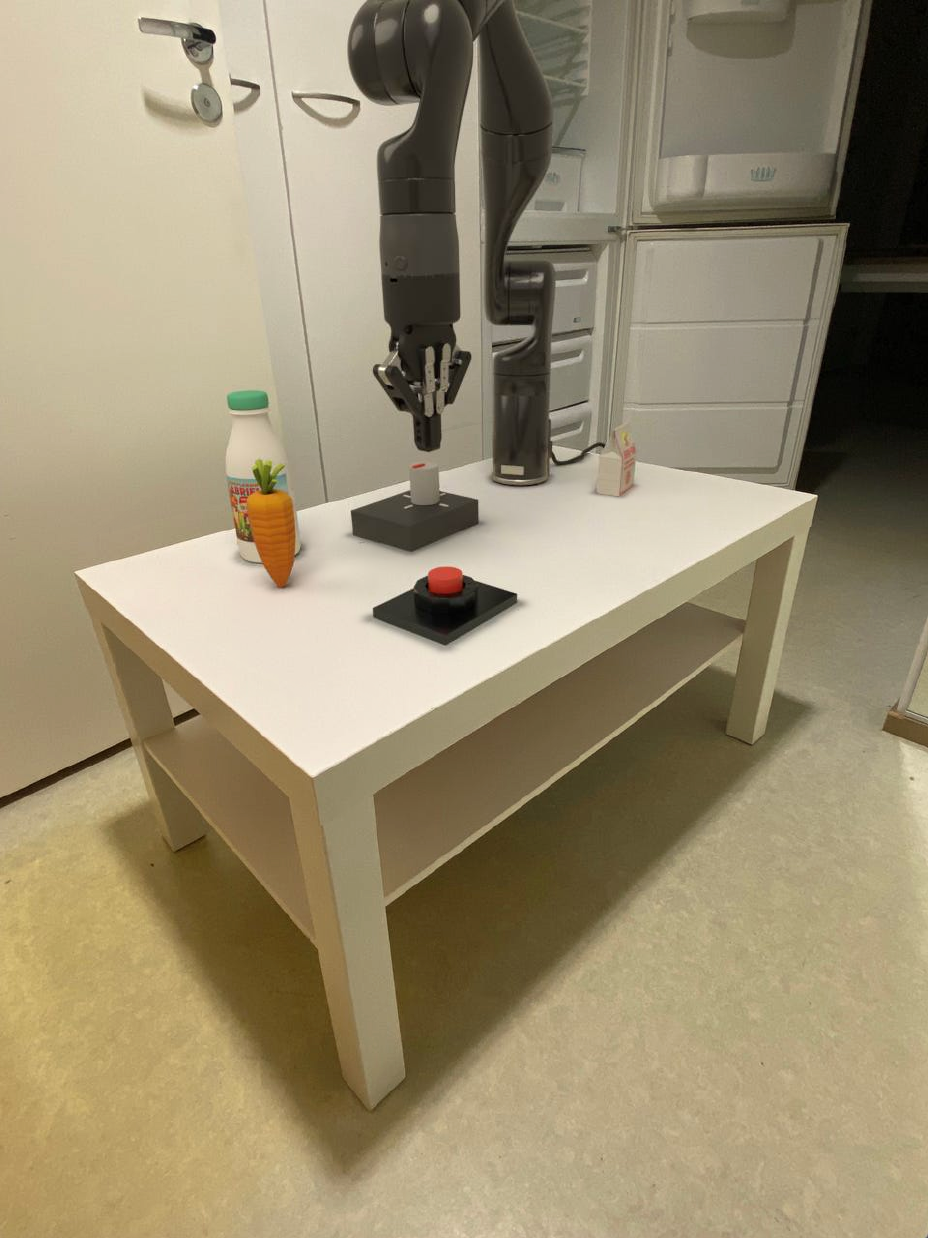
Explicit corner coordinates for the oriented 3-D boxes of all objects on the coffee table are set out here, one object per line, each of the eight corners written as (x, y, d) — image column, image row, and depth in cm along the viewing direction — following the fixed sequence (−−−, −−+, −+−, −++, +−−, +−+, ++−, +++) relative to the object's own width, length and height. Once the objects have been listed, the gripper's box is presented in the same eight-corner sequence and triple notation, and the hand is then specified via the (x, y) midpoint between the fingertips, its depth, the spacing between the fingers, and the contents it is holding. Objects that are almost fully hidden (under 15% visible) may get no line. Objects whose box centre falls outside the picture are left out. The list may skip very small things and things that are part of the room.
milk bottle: (250, 542, 94) (225, 387, 85) (307, 542, 94) (288, 386, 85) (231, 564, 87) (201, 398, 78) (293, 564, 87) (270, 397, 78)
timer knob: (425, 494, 100) (423, 457, 98) (445, 500, 98) (444, 462, 95) (405, 501, 98) (402, 463, 95) (425, 507, 95) (423, 468, 93)
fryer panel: (421, 508, 106) (420, 485, 104) (478, 523, 99) (478, 498, 98) (352, 534, 96) (350, 509, 95) (411, 552, 90) (409, 525, 88)
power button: (443, 578, 76) (443, 563, 75) (469, 586, 74) (469, 571, 73) (421, 589, 73) (420, 574, 73) (447, 598, 71) (447, 582, 71)
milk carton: (596, 493, 111) (601, 429, 107) (611, 482, 116) (616, 421, 112) (618, 496, 110) (624, 431, 105) (633, 485, 115) (639, 423, 110)
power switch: (447, 580, 82) (446, 556, 80) (517, 603, 76) (517, 578, 75) (373, 618, 74) (370, 592, 72) (445, 646, 68) (444, 618, 66)
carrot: (263, 580, 83) (243, 453, 76) (306, 578, 83) (289, 451, 76) (256, 597, 78) (233, 465, 72) (300, 595, 79) (283, 463, 72)
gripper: (436, 266, 74) (441, 432, 82) (341, 272, 65) (359, 458, 73) (493, 266, 69) (493, 441, 78) (401, 272, 60) (412, 470, 69)
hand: (428, 449), depth 75 cm, fingers closed
